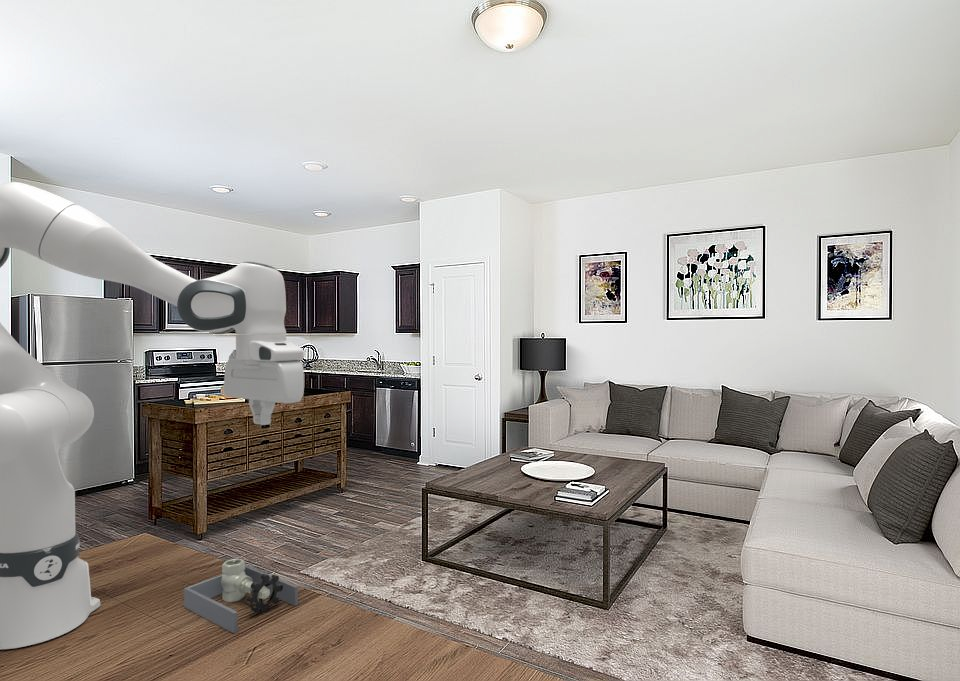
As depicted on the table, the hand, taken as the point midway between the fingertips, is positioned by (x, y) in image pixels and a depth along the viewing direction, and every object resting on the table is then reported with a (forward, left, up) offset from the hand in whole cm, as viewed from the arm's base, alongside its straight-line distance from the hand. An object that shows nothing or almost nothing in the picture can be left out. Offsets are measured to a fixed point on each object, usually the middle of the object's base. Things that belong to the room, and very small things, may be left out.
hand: (262, 424), depth 109 cm
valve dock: (+3, -6, -31) cm, 32 cm away
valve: (+2, -5, -32) cm, 32 cm away
